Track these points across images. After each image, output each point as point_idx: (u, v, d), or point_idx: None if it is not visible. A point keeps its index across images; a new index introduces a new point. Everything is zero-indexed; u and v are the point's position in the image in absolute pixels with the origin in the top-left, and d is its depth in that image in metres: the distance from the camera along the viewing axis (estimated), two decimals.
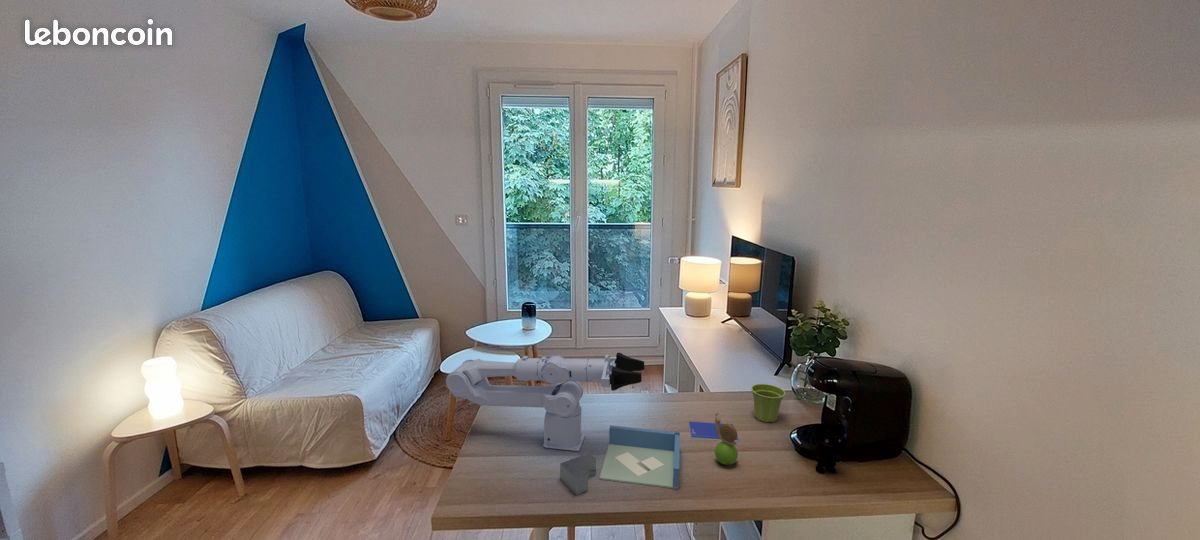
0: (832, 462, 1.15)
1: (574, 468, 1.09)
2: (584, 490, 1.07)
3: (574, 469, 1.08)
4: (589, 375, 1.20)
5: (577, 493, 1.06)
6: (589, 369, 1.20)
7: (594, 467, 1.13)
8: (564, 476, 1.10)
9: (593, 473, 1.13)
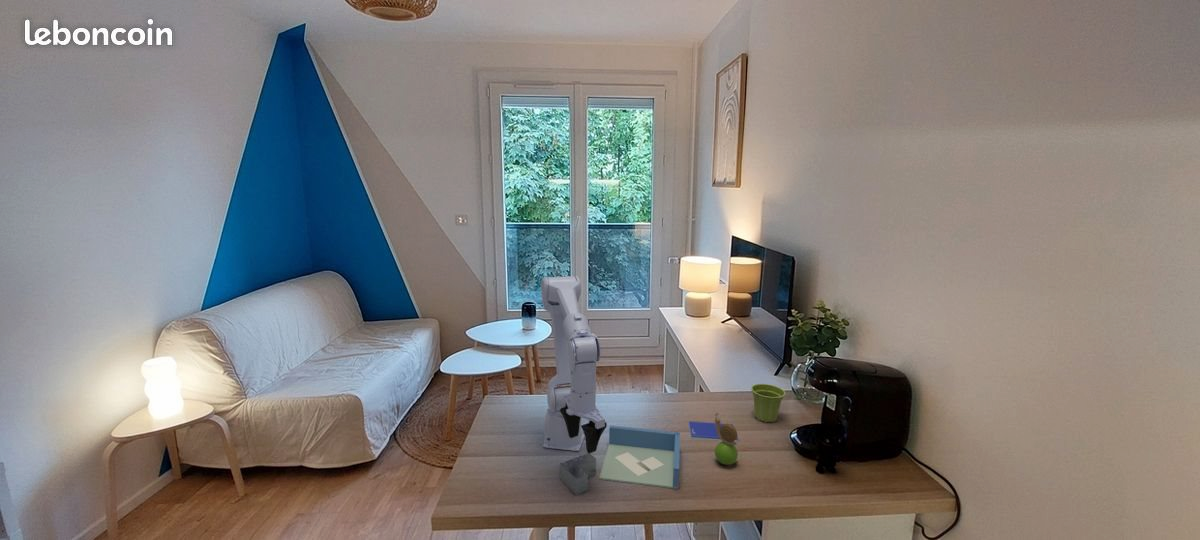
0: (832, 462, 1.15)
1: (574, 468, 1.09)
2: (584, 490, 1.07)
3: (574, 469, 1.08)
4: None
5: (577, 493, 1.06)
6: None
7: (594, 467, 1.13)
8: (564, 476, 1.10)
9: (593, 473, 1.13)
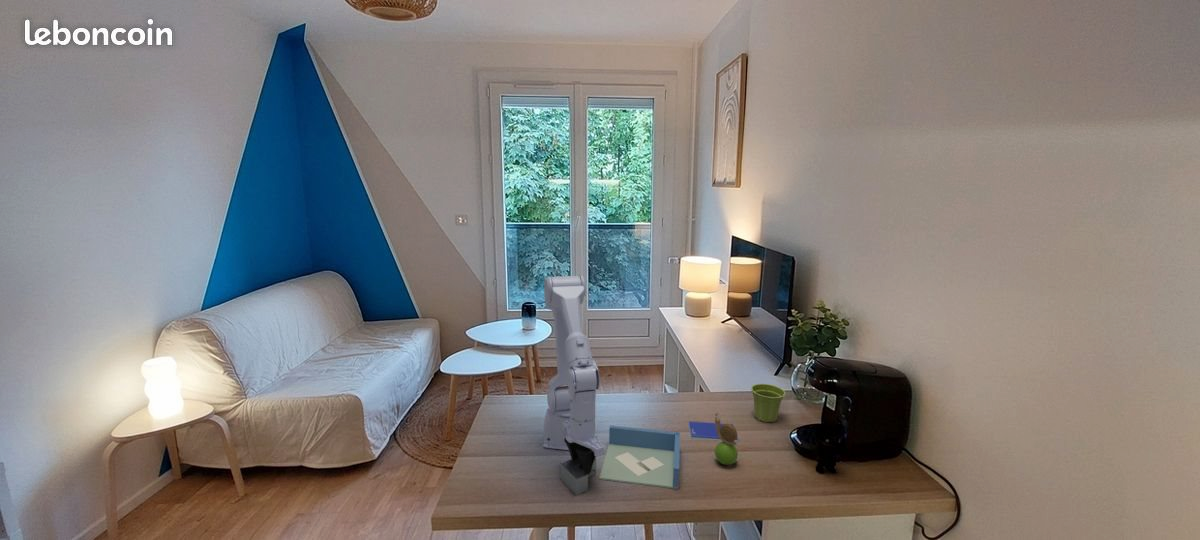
0: (832, 462, 1.15)
1: (574, 468, 1.09)
2: (584, 490, 1.07)
3: (574, 469, 1.08)
4: None
5: (577, 493, 1.06)
6: None
7: (594, 467, 1.13)
8: (564, 476, 1.10)
9: (593, 473, 1.13)
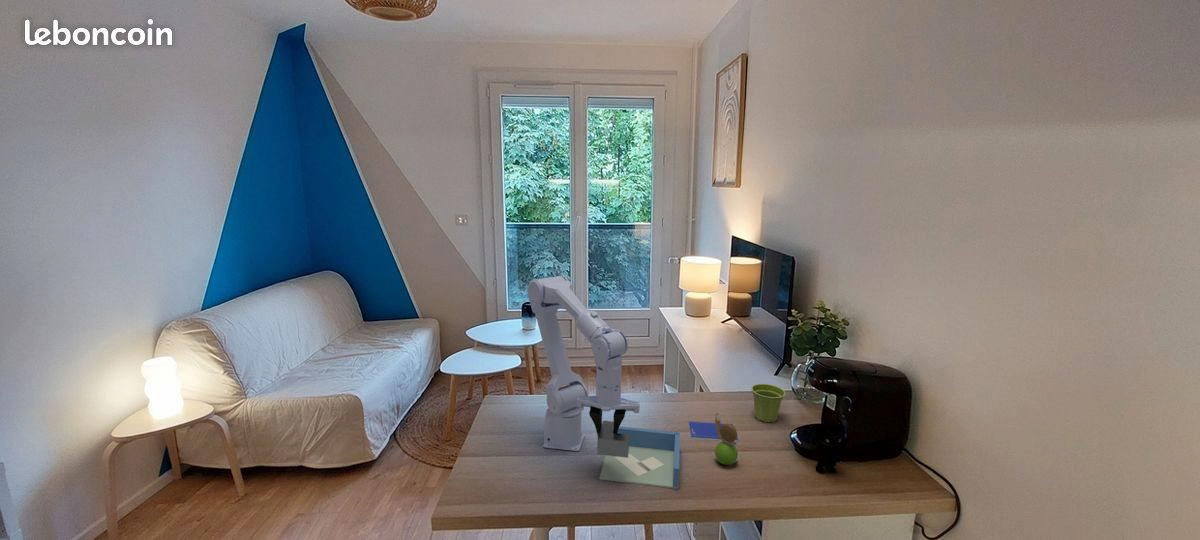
0: (832, 462, 1.15)
1: (613, 435, 1.10)
2: None
3: (615, 436, 1.10)
4: None
5: None
6: (596, 387, 1.11)
7: None
8: (606, 448, 1.09)
9: None
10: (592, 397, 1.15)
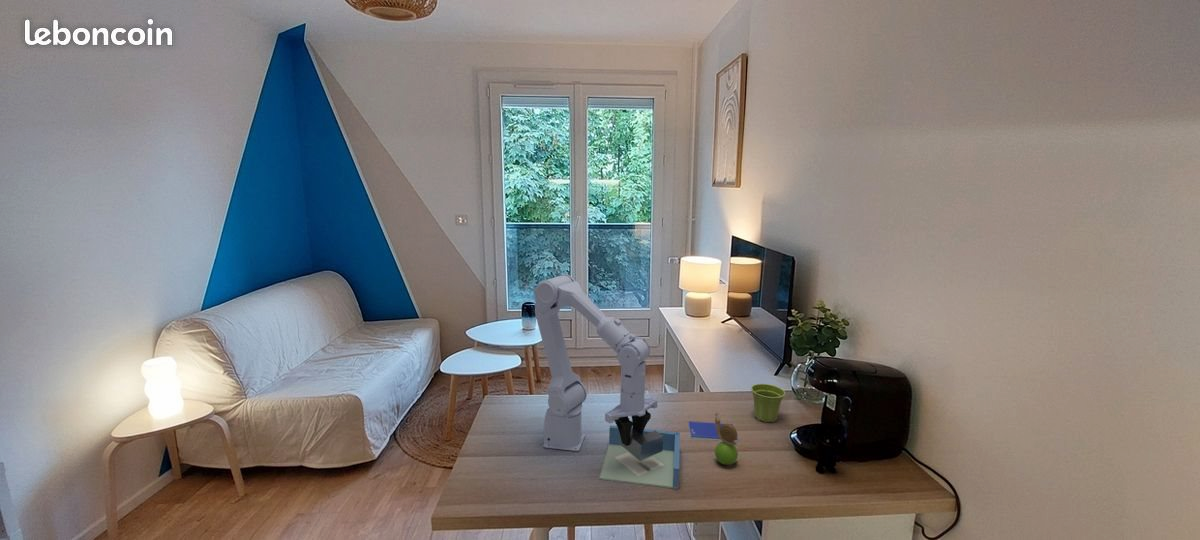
0: (832, 462, 1.15)
1: (647, 437, 1.15)
2: None
3: (649, 437, 1.15)
4: (622, 394, 1.13)
5: None
6: (627, 396, 1.12)
7: None
8: (647, 450, 1.13)
9: None
10: (615, 409, 1.14)
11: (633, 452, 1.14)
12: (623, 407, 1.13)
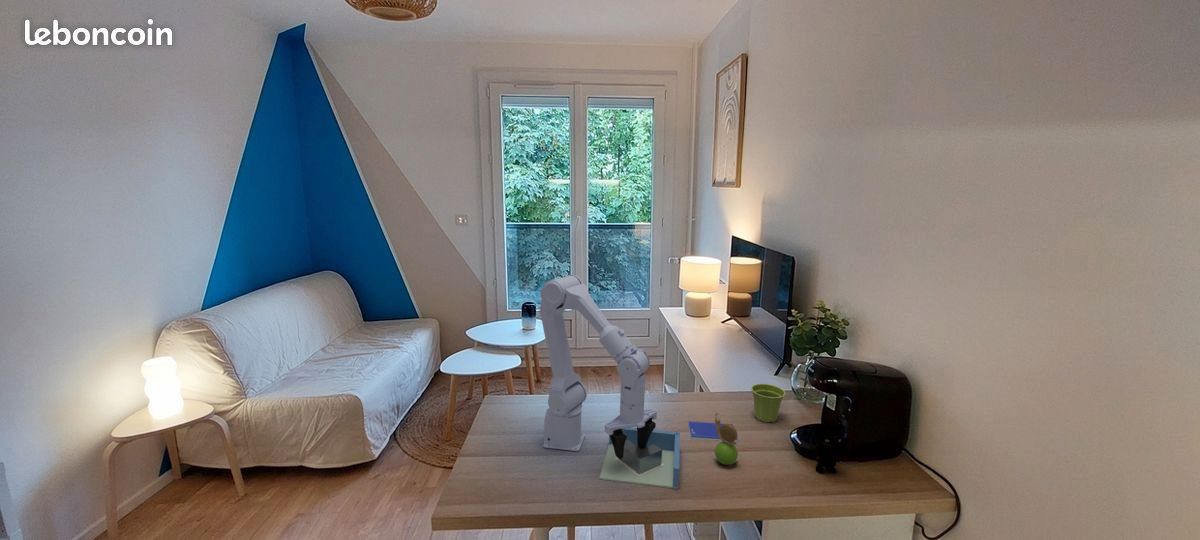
0: (832, 462, 1.15)
1: (646, 451, 1.16)
2: None
3: (648, 450, 1.16)
4: (622, 405, 1.14)
5: None
6: (627, 408, 1.13)
7: None
8: (646, 464, 1.14)
9: None
10: (614, 420, 1.15)
11: (632, 466, 1.15)
12: (623, 418, 1.14)
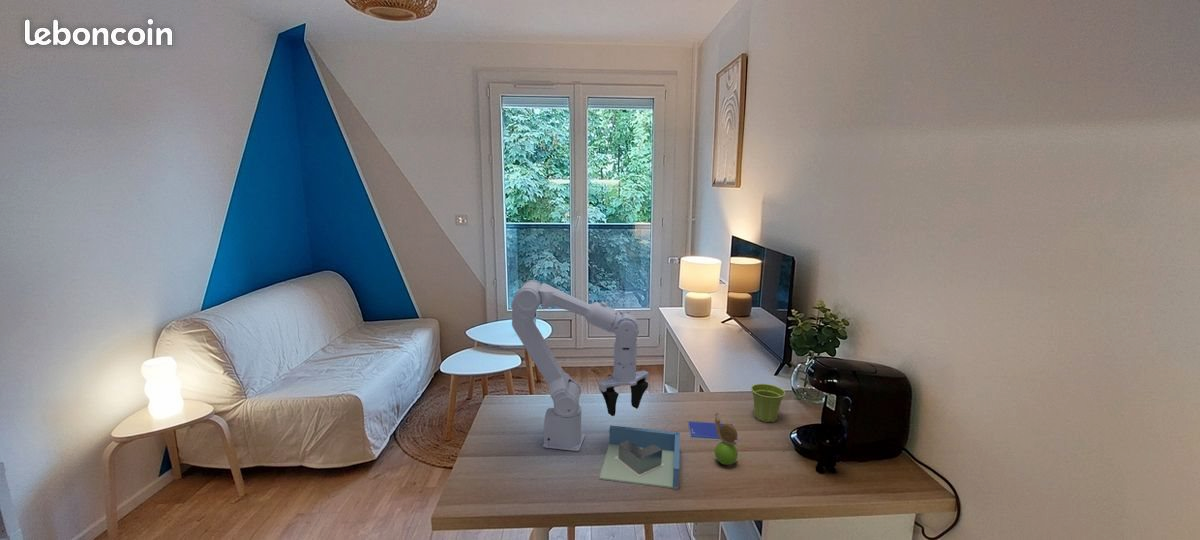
0: (832, 462, 1.15)
1: (646, 451, 1.16)
2: None
3: (648, 450, 1.16)
4: (615, 365, 1.21)
5: None
6: (620, 367, 1.20)
7: None
8: (646, 464, 1.14)
9: None
10: (608, 379, 1.22)
11: (632, 466, 1.15)
12: (616, 377, 1.22)
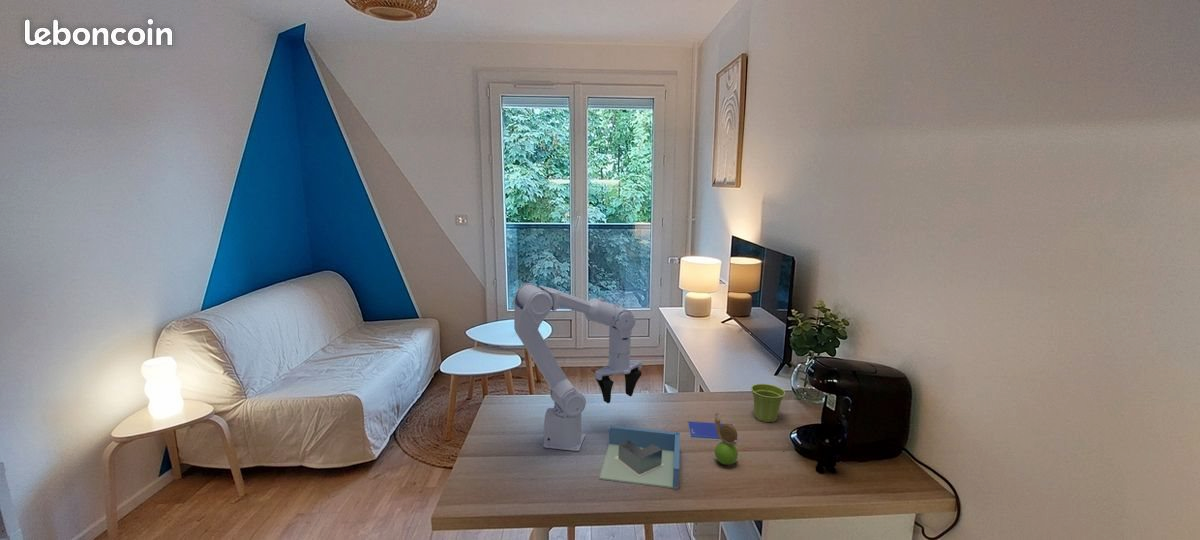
0: (832, 462, 1.15)
1: (646, 451, 1.16)
2: None
3: (648, 450, 1.16)
4: (610, 355, 1.28)
5: None
6: (614, 356, 1.27)
7: None
8: (646, 464, 1.14)
9: None
10: (603, 368, 1.29)
11: (632, 466, 1.15)
12: (611, 366, 1.28)
